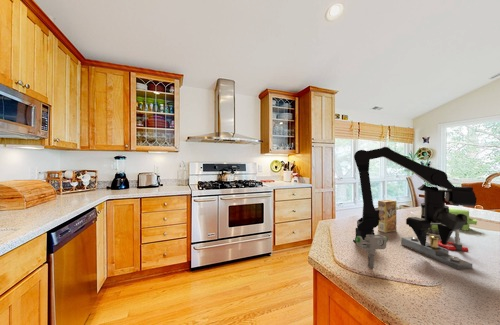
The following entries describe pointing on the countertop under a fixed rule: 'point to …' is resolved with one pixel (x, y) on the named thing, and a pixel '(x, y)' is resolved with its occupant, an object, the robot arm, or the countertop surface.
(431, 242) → the pin
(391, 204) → the candy box
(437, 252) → the grey slotted bracket fixture
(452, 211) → the gearbox
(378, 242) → the mechanical component
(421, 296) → the countertop surface
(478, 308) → the countertop surface
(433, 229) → the coffee can
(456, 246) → the tow hook
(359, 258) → the countertop surface
